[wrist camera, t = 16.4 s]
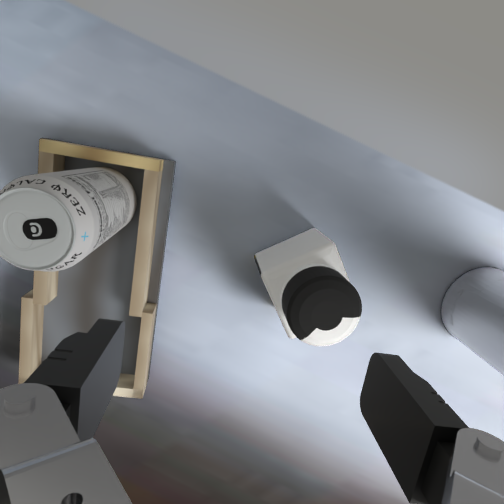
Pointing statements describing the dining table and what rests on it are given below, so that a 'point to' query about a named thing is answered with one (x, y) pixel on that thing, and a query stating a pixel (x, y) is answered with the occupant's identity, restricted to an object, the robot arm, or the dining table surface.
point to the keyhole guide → (104, 269)
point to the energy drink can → (62, 216)
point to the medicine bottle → (310, 288)
